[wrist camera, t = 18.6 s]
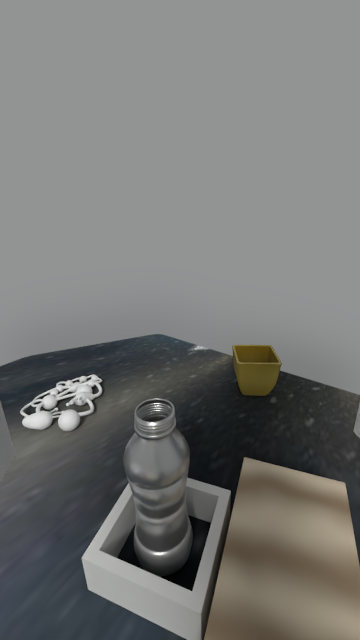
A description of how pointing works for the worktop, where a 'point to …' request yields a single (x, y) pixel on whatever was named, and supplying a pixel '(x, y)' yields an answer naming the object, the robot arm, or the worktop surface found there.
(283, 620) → the beige rectangular block
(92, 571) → the frame
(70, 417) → the tangled rod sculpture
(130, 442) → the plastic bottle
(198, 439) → the worktop surface
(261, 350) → the flower pot
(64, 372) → the worktop surface
